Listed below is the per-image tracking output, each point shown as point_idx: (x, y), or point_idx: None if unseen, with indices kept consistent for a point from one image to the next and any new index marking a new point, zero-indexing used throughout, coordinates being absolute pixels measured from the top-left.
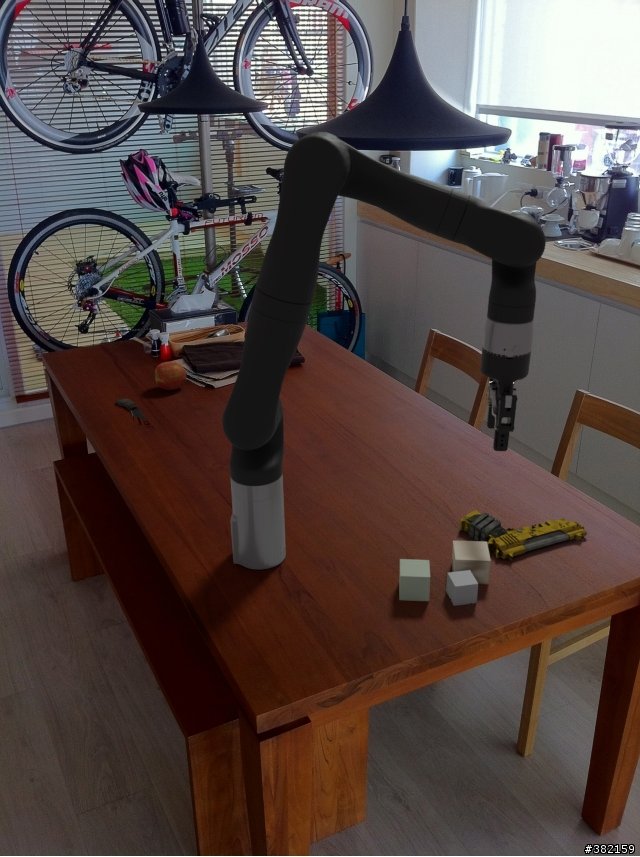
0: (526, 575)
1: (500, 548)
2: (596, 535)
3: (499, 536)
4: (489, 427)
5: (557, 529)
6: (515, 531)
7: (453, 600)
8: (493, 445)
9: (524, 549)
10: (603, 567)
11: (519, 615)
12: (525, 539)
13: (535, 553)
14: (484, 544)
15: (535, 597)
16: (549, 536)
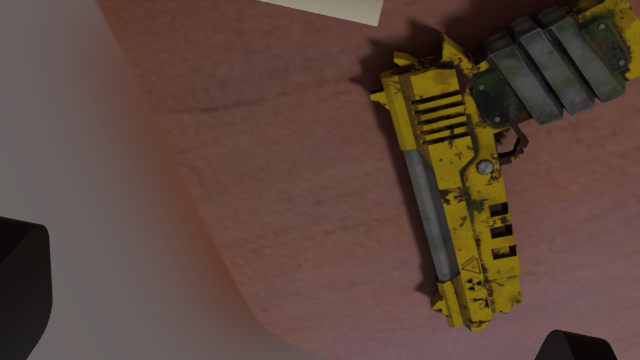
0: (301, 108)
1: (405, 74)
2: (450, 339)
3: (470, 94)
4: (548, 341)
5: (460, 267)
6: (486, 153)
7: None
8: (2, 237)
9: (400, 146)
10: (311, 297)
11: (117, 22)
12: (431, 165)
13: (403, 171)
14: (360, 10)
15: (197, 95)
16: (446, 235)
